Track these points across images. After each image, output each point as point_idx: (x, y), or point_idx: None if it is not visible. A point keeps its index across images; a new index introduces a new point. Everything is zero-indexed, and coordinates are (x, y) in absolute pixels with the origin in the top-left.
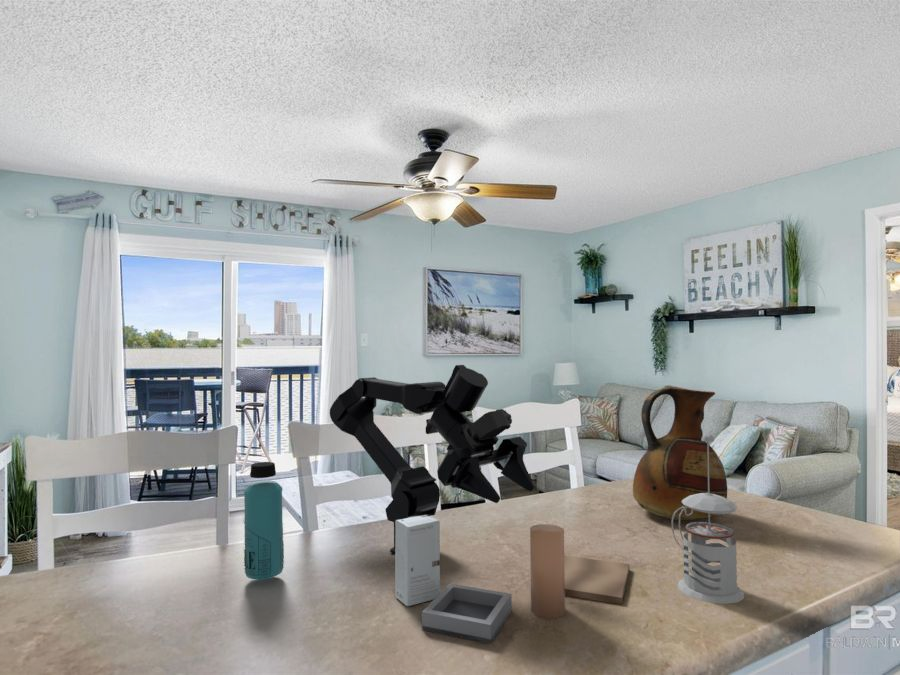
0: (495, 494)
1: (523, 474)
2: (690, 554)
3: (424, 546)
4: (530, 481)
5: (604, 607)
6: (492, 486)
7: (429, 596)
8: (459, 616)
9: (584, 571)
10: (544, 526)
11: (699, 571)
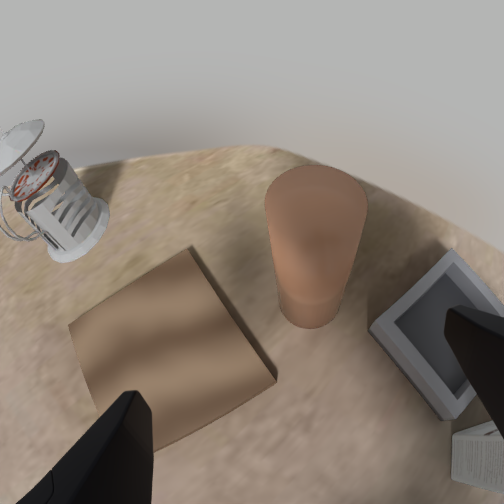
0: (478, 311)
1: (104, 469)
2: (69, 197)
3: None
4: (116, 413)
5: (219, 261)
6: (501, 332)
7: (474, 427)
8: (483, 289)
9: (141, 357)
10: (304, 221)
11: (85, 198)
